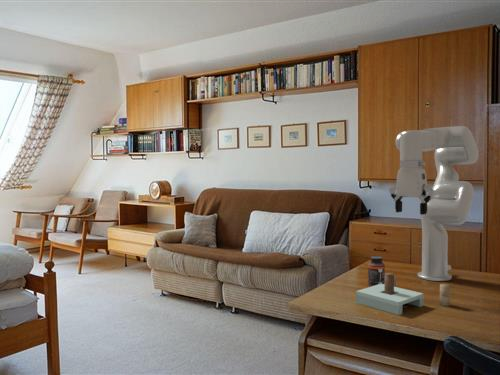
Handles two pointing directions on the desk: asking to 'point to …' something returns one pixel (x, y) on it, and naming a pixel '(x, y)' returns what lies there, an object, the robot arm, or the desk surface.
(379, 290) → the hole board
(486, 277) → the desk surface
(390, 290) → the long pin
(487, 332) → the desk surface
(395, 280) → the short pin
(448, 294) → the medium pin
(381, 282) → the supplement bottle
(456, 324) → the desk surface
